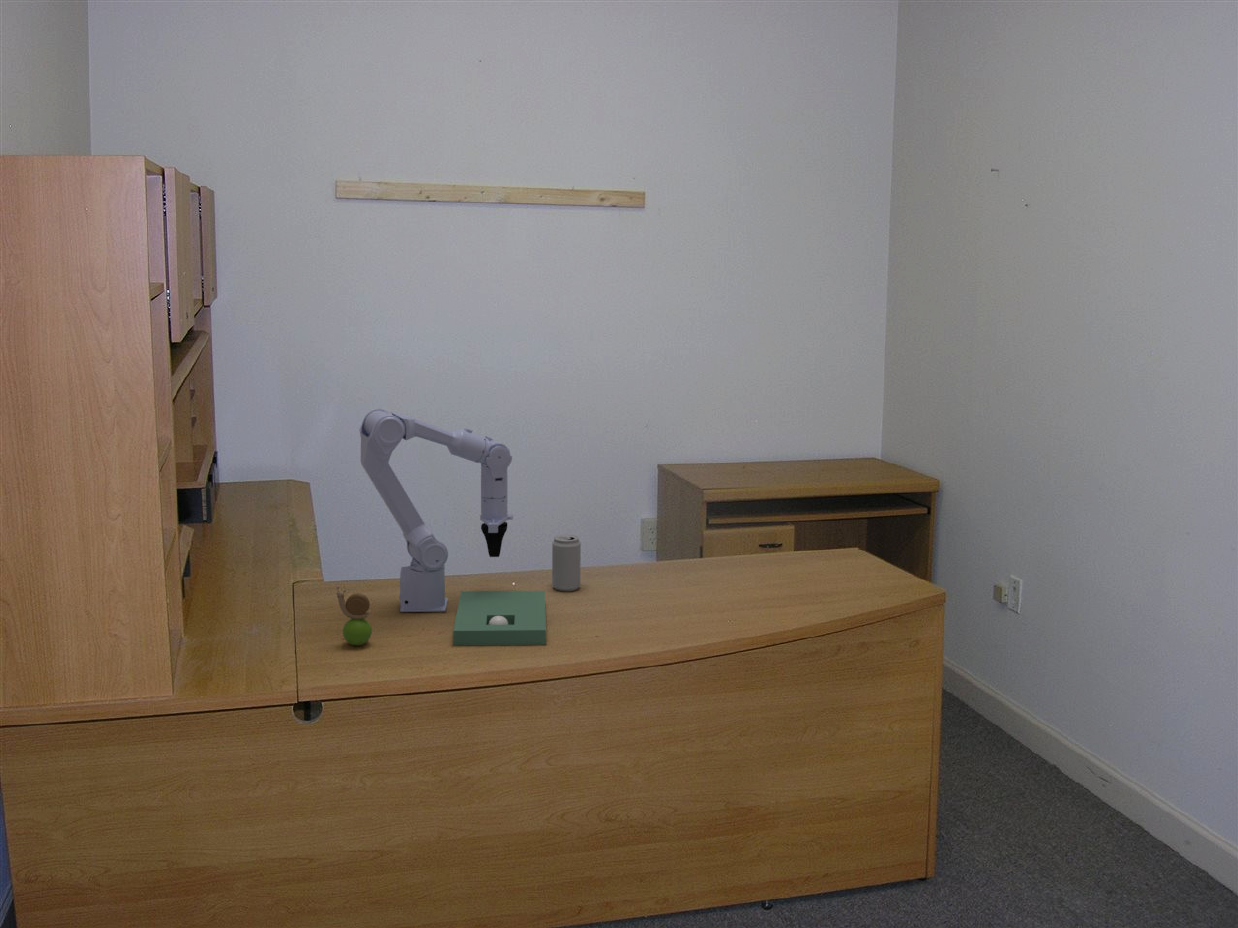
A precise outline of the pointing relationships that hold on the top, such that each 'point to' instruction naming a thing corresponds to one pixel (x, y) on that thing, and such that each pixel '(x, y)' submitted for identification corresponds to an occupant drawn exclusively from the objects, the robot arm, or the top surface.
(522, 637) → the putting board
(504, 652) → the top surface
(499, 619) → the ball
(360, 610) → the snail figurine
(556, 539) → the beverage can
